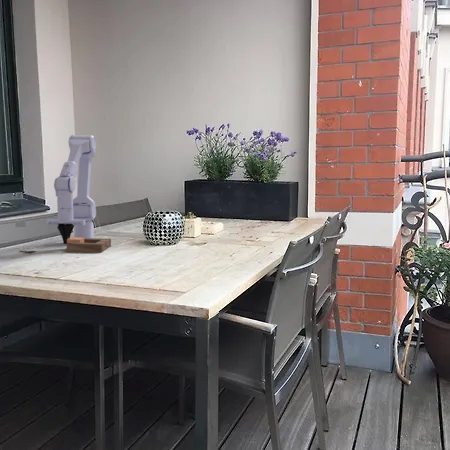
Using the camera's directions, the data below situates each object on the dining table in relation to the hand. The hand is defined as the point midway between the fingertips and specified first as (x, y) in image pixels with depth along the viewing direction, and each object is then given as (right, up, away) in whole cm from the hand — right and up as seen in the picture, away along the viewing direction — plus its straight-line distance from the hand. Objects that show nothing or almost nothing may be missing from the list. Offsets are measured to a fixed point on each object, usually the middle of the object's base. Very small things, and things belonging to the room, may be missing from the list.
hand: (66, 243), depth 197 cm
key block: (+4, -2, 0) cm, 4 cm away
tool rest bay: (+9, -2, 0) cm, 9 cm away
